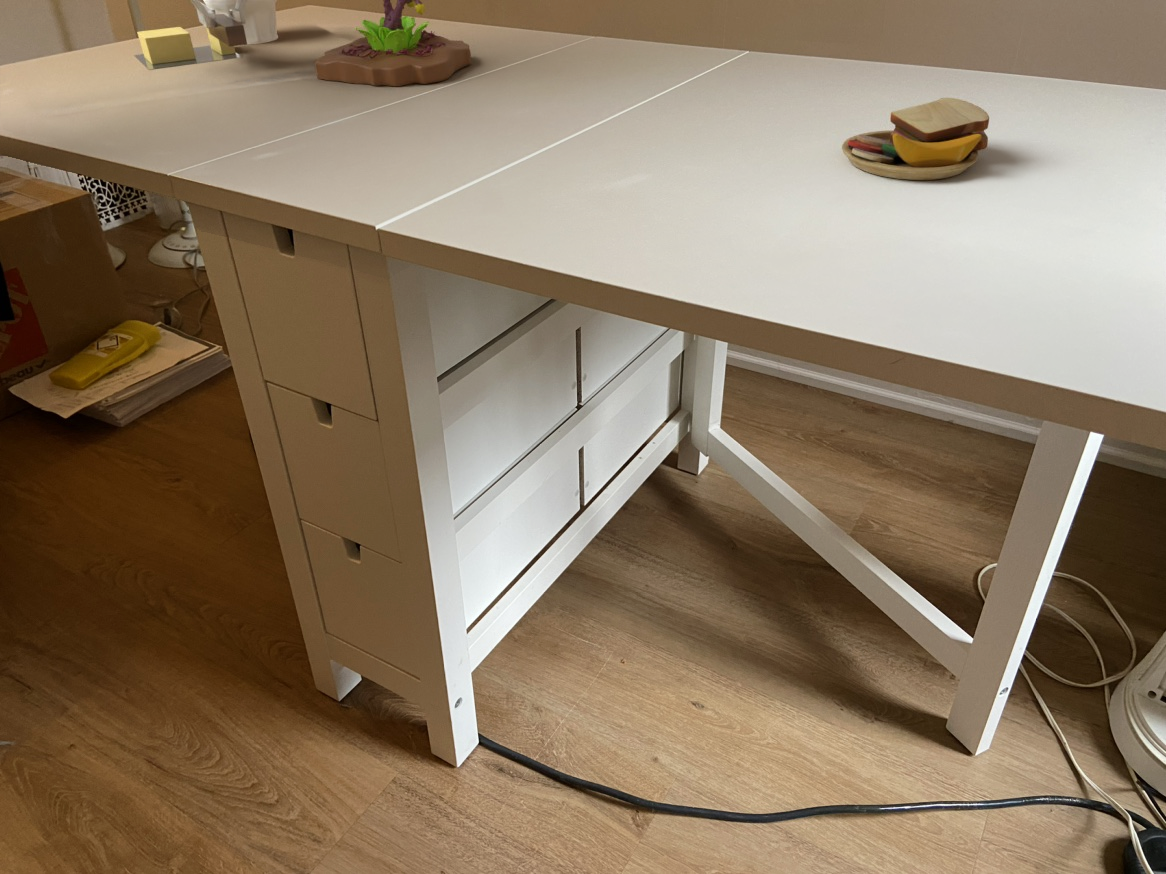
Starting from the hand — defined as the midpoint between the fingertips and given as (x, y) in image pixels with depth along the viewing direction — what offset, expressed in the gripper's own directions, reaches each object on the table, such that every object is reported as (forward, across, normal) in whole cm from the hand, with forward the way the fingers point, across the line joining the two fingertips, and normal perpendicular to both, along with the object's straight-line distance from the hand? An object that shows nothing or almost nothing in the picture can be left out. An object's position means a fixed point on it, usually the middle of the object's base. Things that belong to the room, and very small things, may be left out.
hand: (225, 25), depth 119 cm
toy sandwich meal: (+6, +44, -81) cm, 92 cm away
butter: (+5, -6, +11) cm, 14 cm away
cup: (+6, +7, +18) cm, 20 cm away
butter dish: (+6, -4, +11) cm, 13 cm away
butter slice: (+5, +1, +11) cm, 12 cm away
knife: (+2, 0, +5) cm, 5 cm away
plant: (+6, +19, -12) cm, 23 cm away
